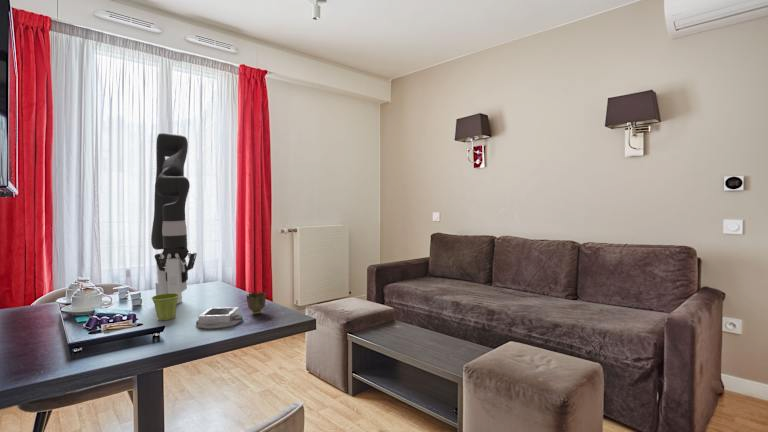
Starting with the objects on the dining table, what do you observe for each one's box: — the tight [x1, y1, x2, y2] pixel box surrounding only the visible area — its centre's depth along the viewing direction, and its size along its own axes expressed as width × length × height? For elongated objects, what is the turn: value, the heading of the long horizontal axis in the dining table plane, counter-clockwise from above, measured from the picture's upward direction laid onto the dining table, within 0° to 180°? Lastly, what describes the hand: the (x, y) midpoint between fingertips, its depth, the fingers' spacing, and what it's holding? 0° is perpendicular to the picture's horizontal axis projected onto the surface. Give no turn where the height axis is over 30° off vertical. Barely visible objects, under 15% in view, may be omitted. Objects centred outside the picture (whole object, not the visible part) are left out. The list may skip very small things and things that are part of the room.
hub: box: [195, 306, 244, 331], centre depth 153 cm, size 16×16×4 cm
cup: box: [245, 291, 267, 316], centre depth 163 cm, size 8×7×8 cm
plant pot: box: [151, 293, 179, 321], centre depth 160 cm, size 9×9×9 cm
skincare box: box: [166, 258, 188, 294], centre depth 145 cm, size 6×4×12 cm
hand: (176, 282), depth 145 cm, fingers closed on skincare box, 4 cm apart
